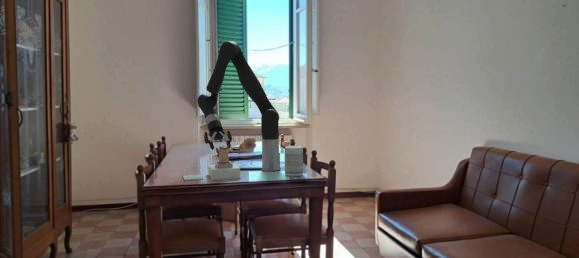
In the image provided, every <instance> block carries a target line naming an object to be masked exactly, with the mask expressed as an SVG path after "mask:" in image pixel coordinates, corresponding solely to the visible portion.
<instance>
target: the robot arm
mask: <svg viewBox="0 0 579 258" xmlns="http://www.w3.org/2000/svg"><path fill="white" fill-rule="evenodd" d="M230 62H231V63H232V65H233V66H234V68H235V70H236V73H237V76H238V80H239V83H240V85H241V86H242V89H243V90H244V92H245V93H246V95H247V96H248V97H249V99H250V100H251V101H252V102H253V103H254V104H255V105H256V107H257V109H258V112H259V113H260V114H261V118H260V121H261V122H260V123H261V127H260V128H261V129H260V130H261V170H262V171H265V172H277V171H280V170H281V152H280V131H279V121H280V114H279V112H278V111H277V109H276V108H275V107H274V105H273V104H272V102H270V100H269V97H268V95H266V92H265V90H264V88H263V86H262V84H261V83H260V81H259V79H258V77H257V75H256V74H255V73H254V71H253V69H252V67H251V66H250V65H249V63H248V61H247V59H246V57H245V55H244V53H243V51H242V49H241V46H240V45H239V44H238V43H237V42H236V41H232V40H231V41H224V42H222V43H221V45H220V47H219V52H218V55H217V59H216V62H215V65H214V68H213V72H212V73H211V76H210V78H209V81H208V82H207V85H206V91H207V92H208V93H210V95H207V94H203V93H201V94H200V95H198V97H197V100H196V101H197V106H198V108H199V109H200V111H201V112H202V113H203V115H204V119H205V124H206V127H207V130H208V132H207V131H204V133H203V139H204V143H205V144H206V145H207V144H208V145H209V148H210V149H211V150H212V151H213V150H214V149H215V146H214V141H222V142H225V144H226V147H228V150H229V149H230V148H231V146H232V145H231V143H232V142H233V136H232V134H231V131H230V130H227V131H224V129H223V125H222V121H221V119H220V116H219V114H218V110H217V108H216V106H217V103H218V97H219V92H220V90H221V87H222V84H223V82H224V79H225V75H226V70H227V68H228V65H229V63H230ZM209 137H210V139H209Z"/></svg>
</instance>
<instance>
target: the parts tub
mask: <svg viewBox="0 0 579 258" xmlns="http://www.w3.org/2000/svg"><path fill="white" fill-rule="evenodd" d="M241 168H242V166H241V164H236V163H232V161H231V160H228V164H219V161H214V164H207V169H208V170H207V171H208V177H210V179H211V180H212V181H216V180H217V181H218V180H232V179H241Z"/></svg>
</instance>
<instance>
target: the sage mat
mask: <svg viewBox="0 0 579 258" xmlns="http://www.w3.org/2000/svg"><path fill="white" fill-rule="evenodd" d="M182 178H183V181H185V182H187V181H189V182H190V181H202V180H204V177H203V175H202V174H192V175H191V174H190V175H183V176H182Z"/></svg>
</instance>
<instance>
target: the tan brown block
mask: <svg viewBox="0 0 579 258" xmlns="http://www.w3.org/2000/svg"><path fill="white" fill-rule="evenodd" d="M228 161H229V149H228V147H227V145H225V146H219V147H218V162H219V164H228Z"/></svg>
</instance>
